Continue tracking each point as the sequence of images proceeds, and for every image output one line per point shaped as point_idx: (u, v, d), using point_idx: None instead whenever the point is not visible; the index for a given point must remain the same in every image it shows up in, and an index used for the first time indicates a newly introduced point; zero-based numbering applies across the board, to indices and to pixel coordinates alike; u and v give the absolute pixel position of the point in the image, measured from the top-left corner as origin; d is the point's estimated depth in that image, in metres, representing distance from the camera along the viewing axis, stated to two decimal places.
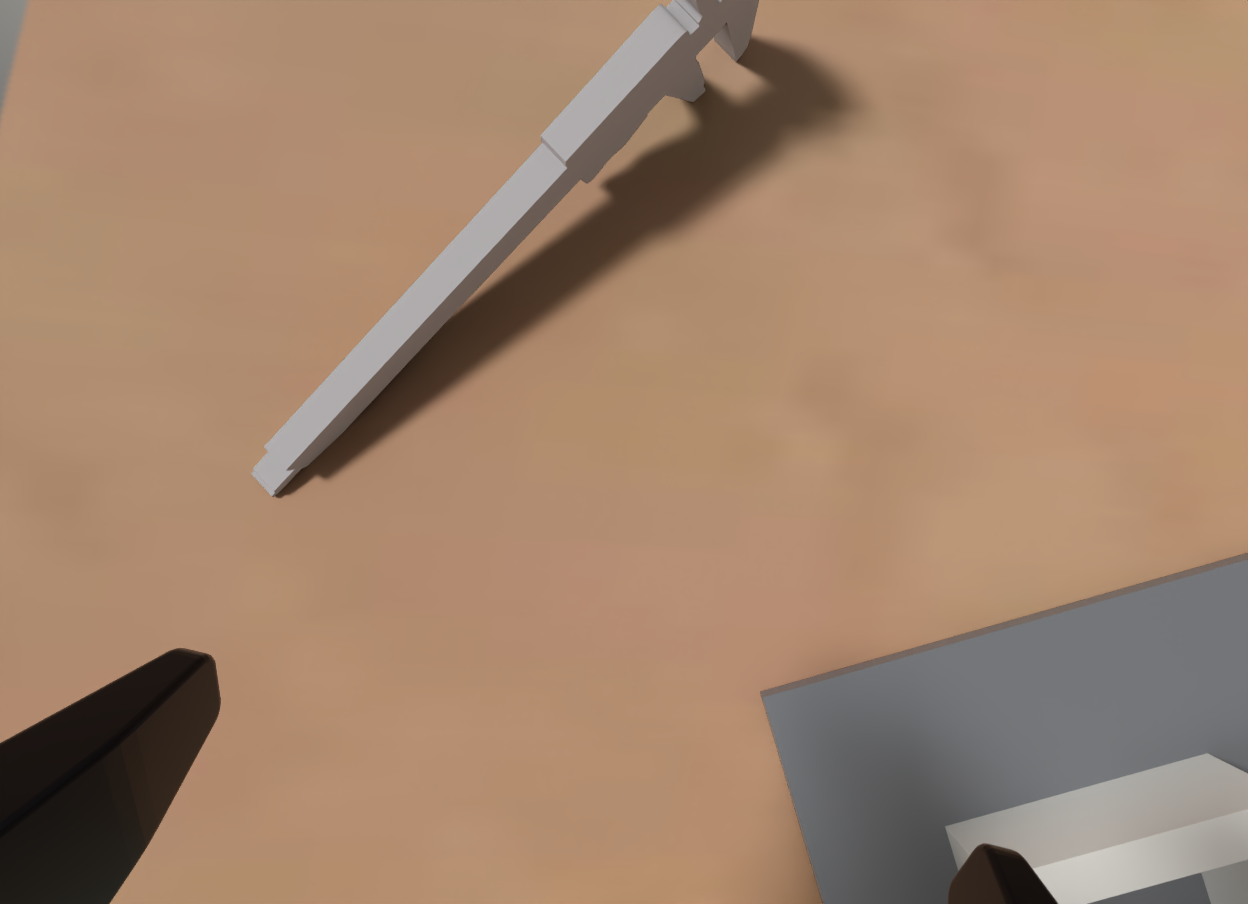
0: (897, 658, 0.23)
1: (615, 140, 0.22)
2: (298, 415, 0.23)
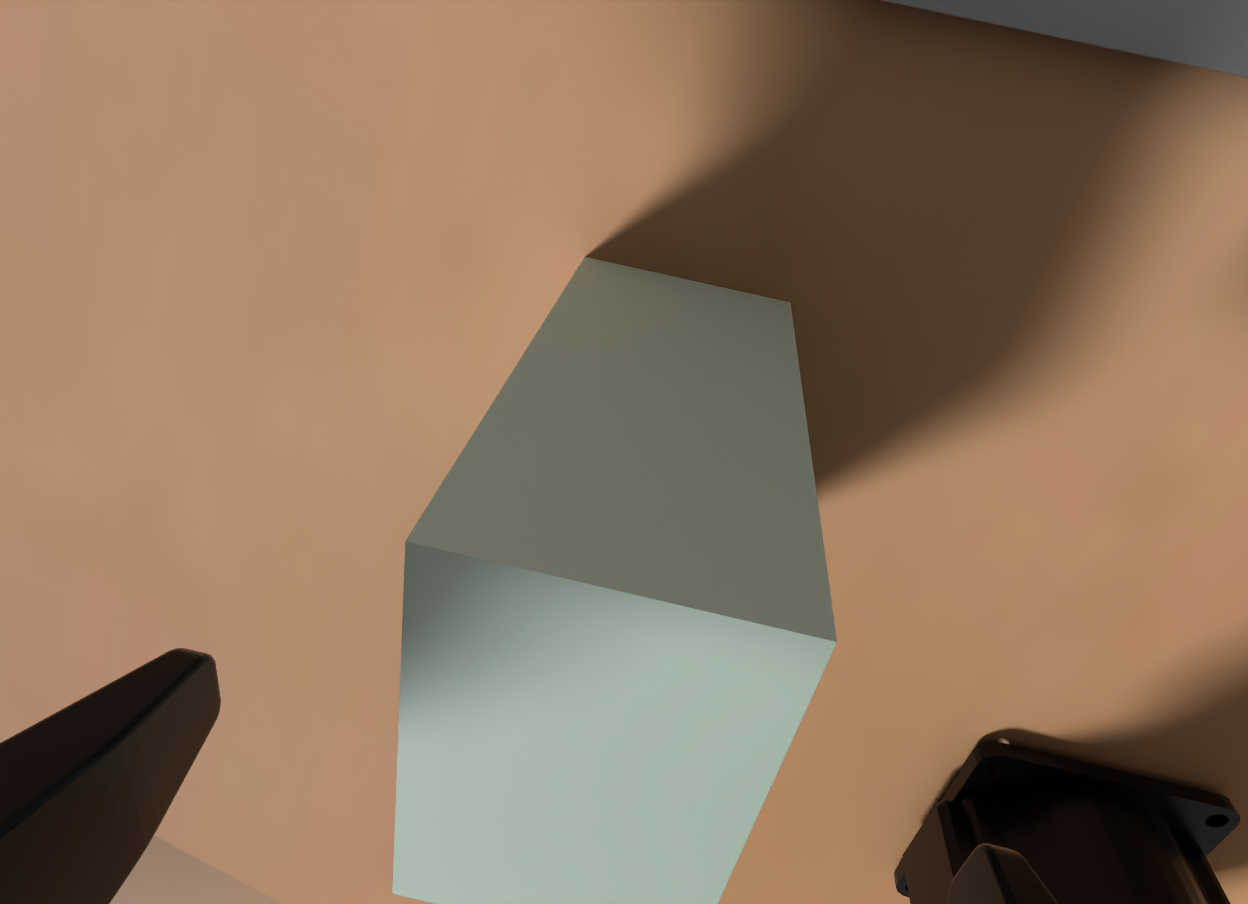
0: None
1: None
2: None
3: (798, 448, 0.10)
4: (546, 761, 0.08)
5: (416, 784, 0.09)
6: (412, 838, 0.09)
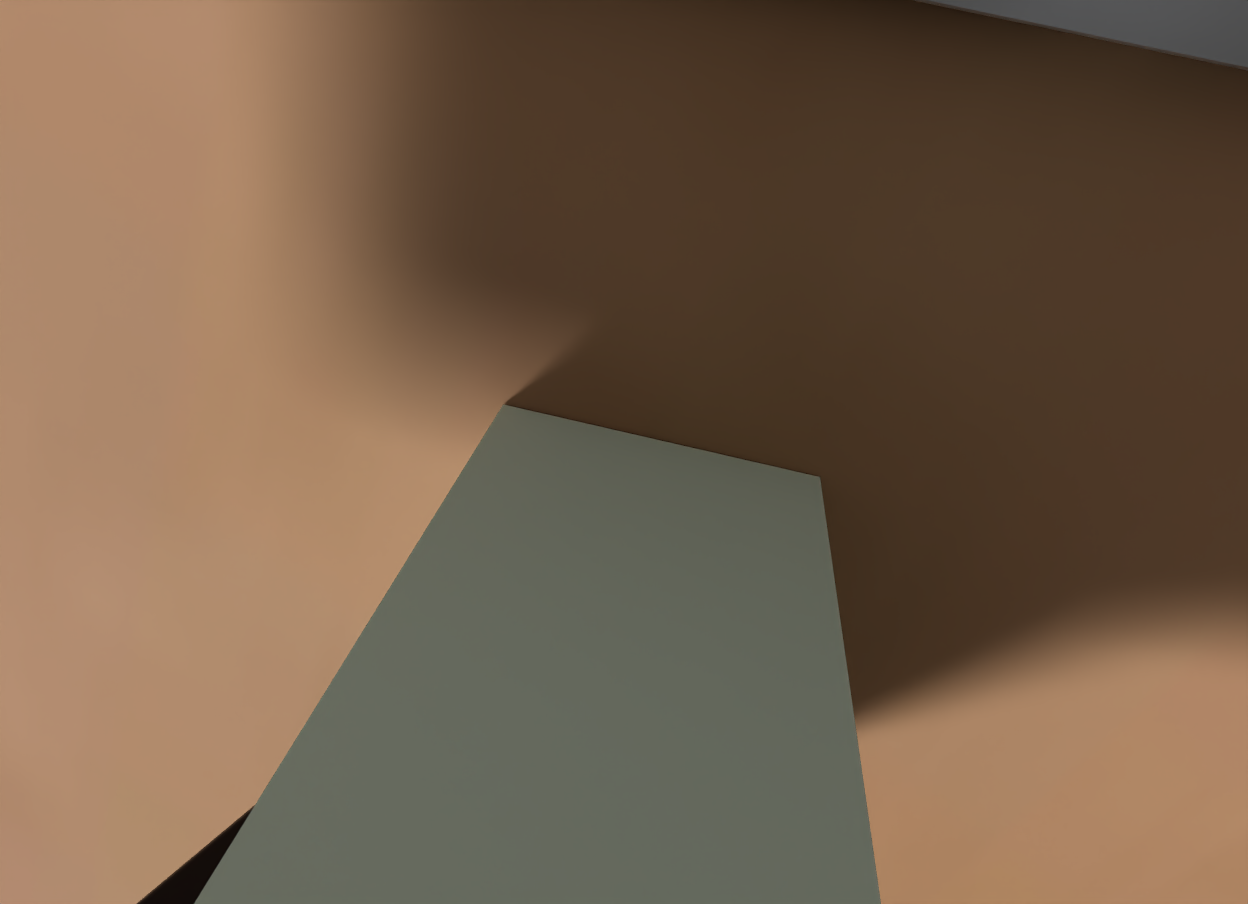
0: None
1: None
2: None
3: None
4: None
5: None
6: None
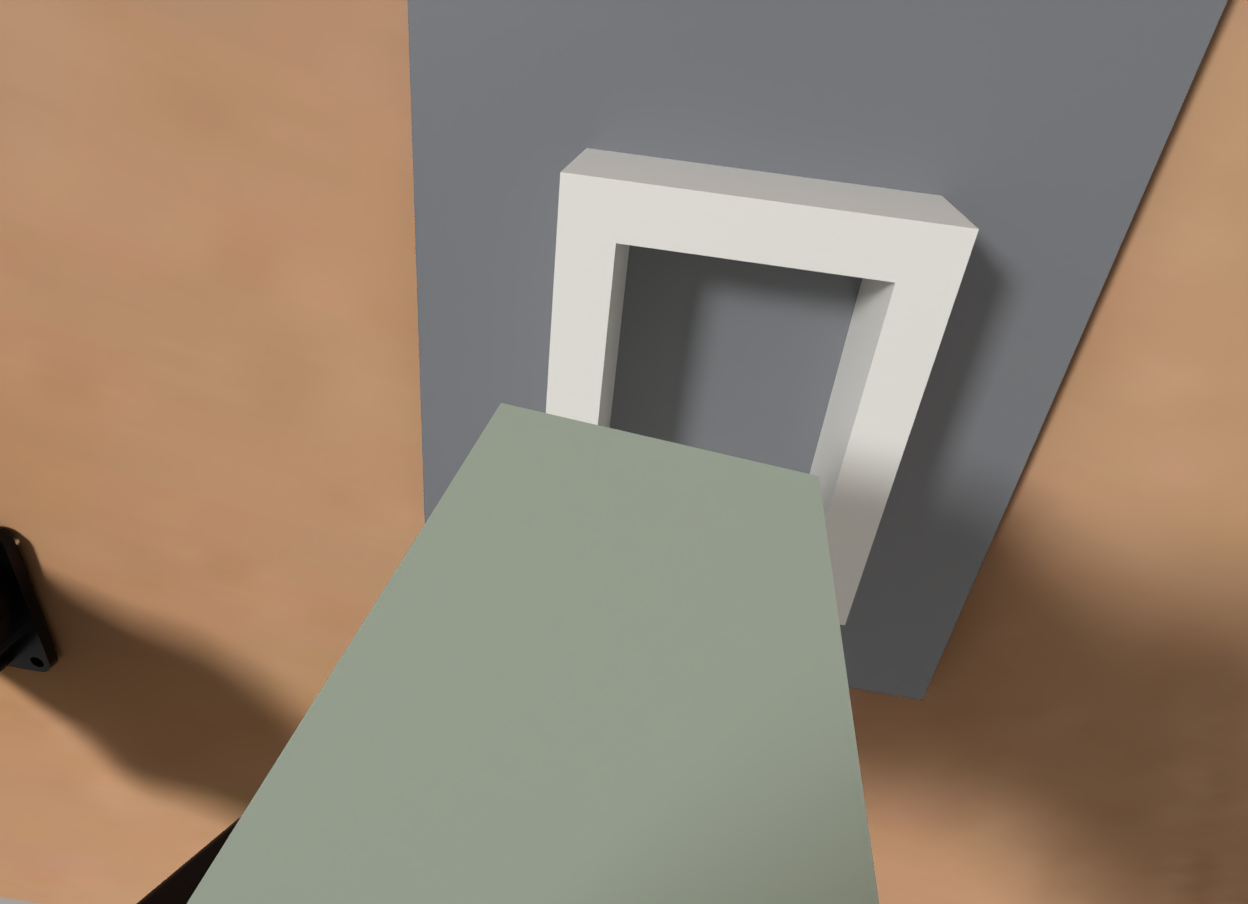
0: None
1: None
2: None
3: None
4: None
5: None
6: None
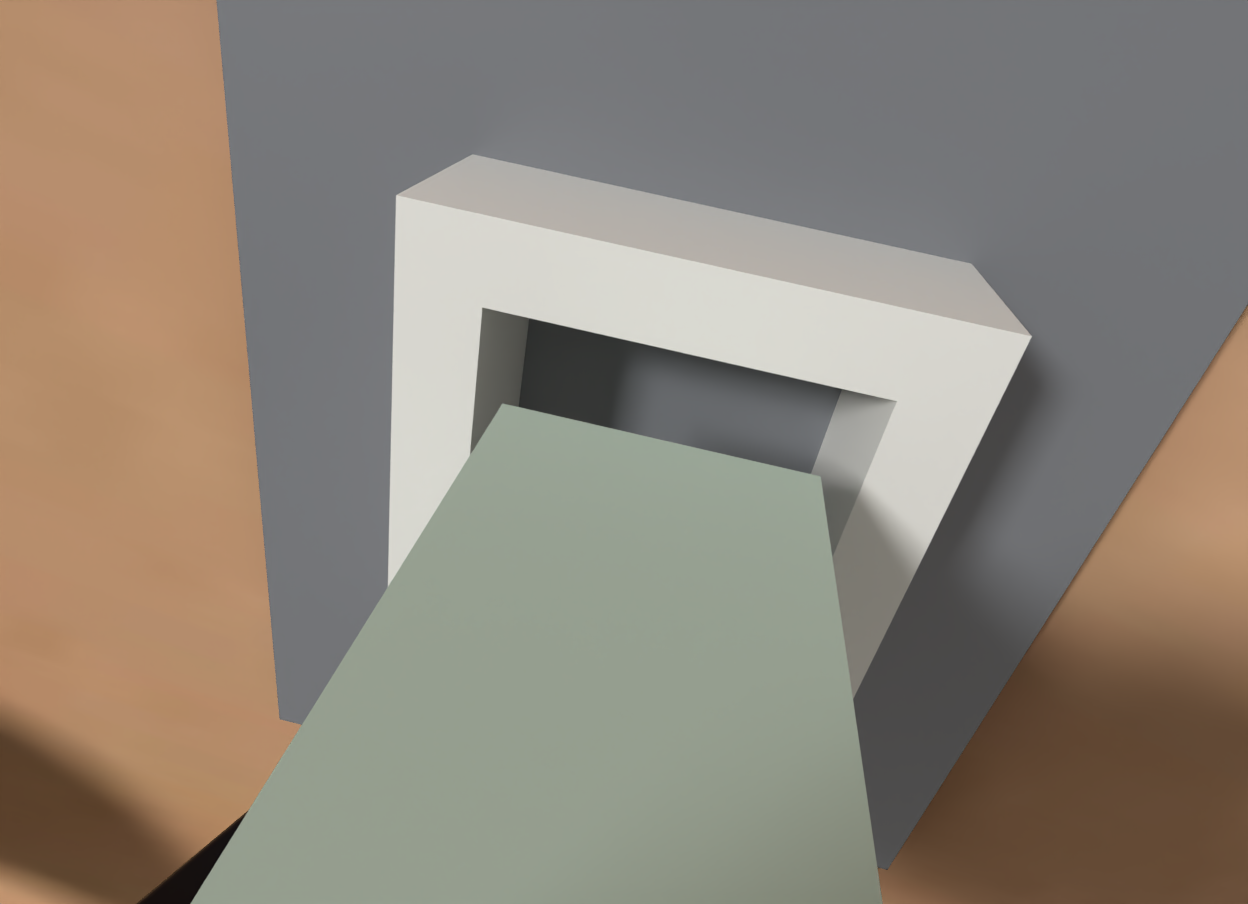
0: None
1: None
2: None
3: None
4: None
5: None
6: None
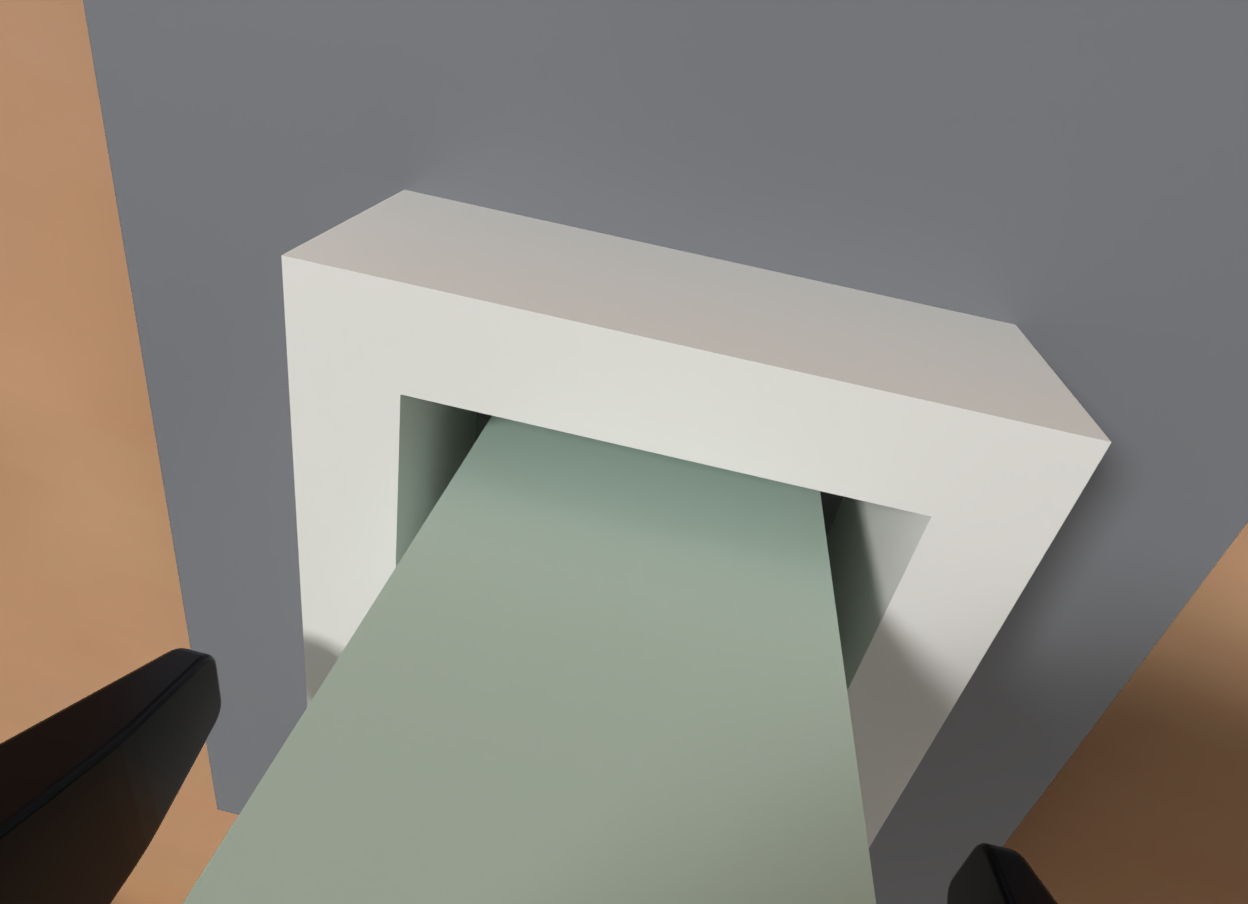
0: None
1: None
2: None
3: (835, 754, 0.06)
4: None
5: None
6: None
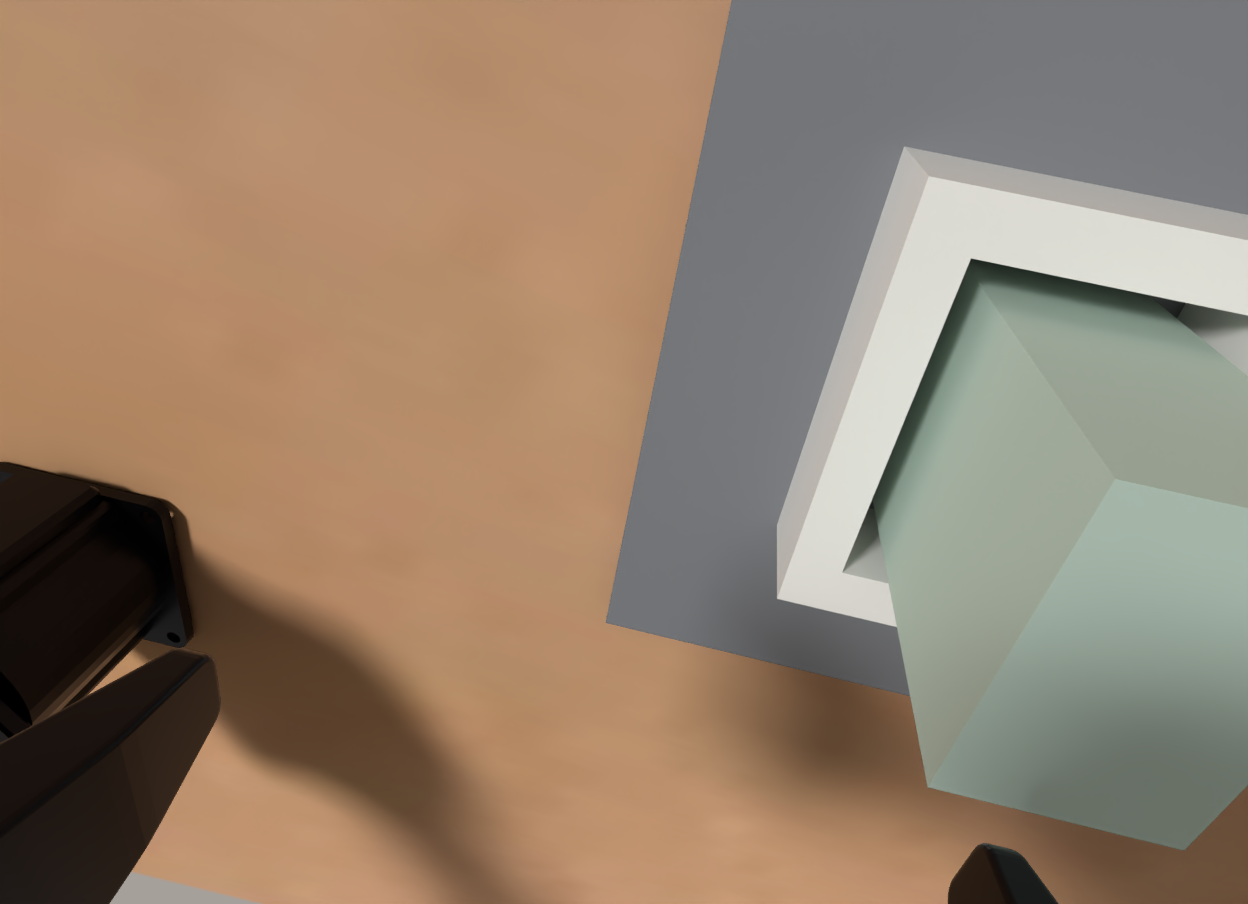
0: None
1: None
2: None
3: None
4: (1143, 665, 0.10)
5: (1007, 687, 0.11)
6: (976, 736, 0.11)
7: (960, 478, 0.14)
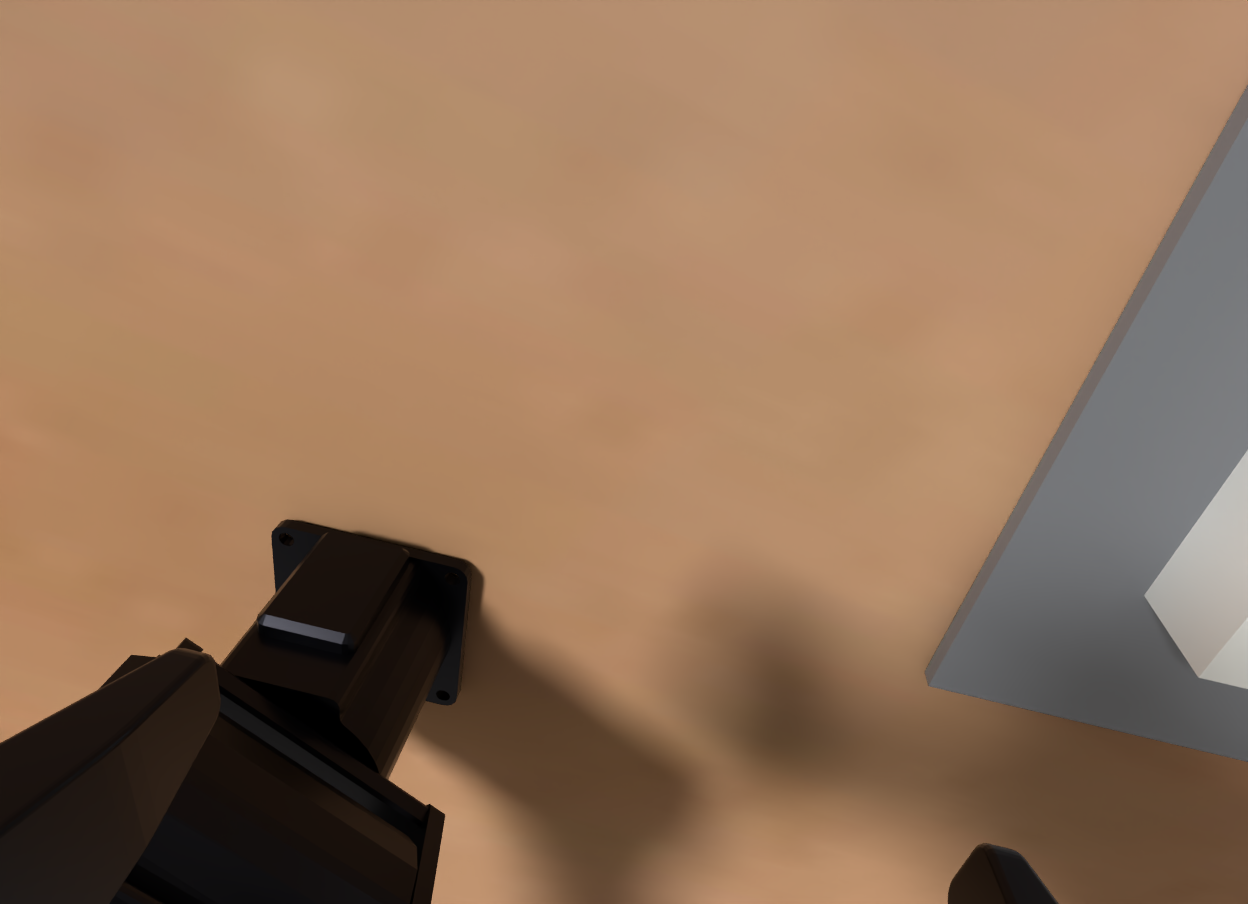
0: None
1: None
2: None
3: None
4: None
5: None
6: None
7: None
